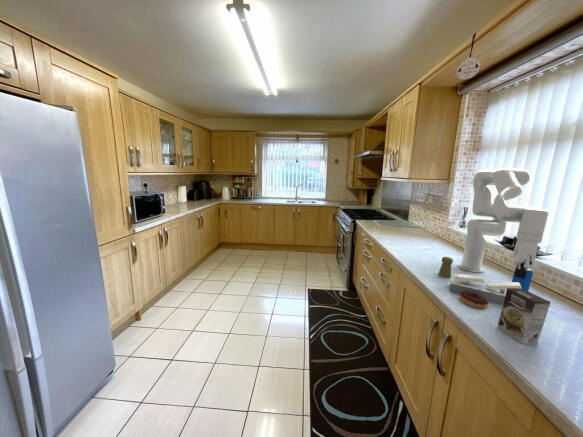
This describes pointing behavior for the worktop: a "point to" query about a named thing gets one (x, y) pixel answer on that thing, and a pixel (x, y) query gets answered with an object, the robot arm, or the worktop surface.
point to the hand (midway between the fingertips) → (519, 277)
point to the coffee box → (523, 315)
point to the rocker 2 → (503, 285)
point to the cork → (446, 267)
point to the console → (478, 290)
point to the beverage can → (524, 282)
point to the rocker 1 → (469, 278)
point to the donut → (473, 299)
